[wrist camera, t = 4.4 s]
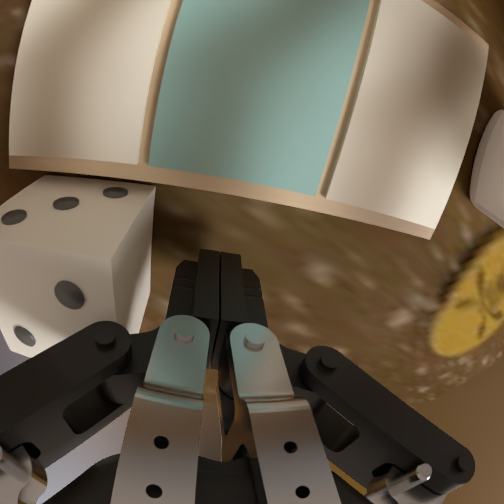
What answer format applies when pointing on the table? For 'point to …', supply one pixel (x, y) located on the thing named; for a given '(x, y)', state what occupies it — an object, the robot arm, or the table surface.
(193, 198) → the table surface
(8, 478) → the robot arm
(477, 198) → the eye dropper bottle
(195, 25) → the track board
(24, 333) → the die
